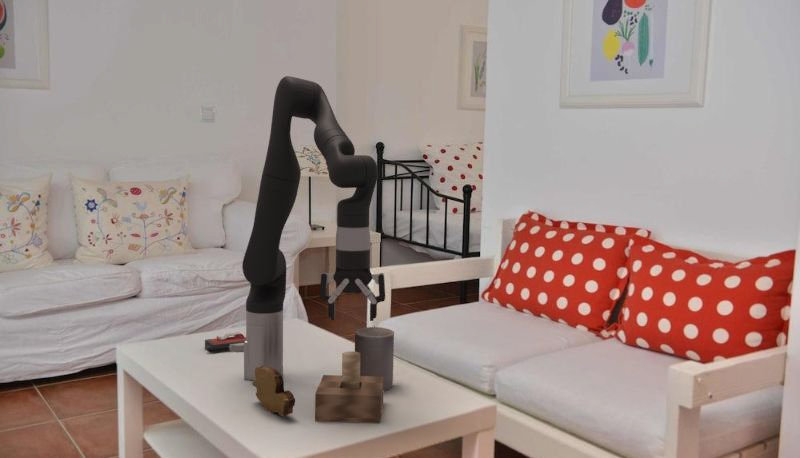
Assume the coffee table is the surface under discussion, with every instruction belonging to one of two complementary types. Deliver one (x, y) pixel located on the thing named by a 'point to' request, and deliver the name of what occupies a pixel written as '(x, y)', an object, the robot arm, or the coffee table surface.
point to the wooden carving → (273, 391)
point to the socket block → (349, 400)
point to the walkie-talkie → (226, 343)
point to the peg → (351, 369)
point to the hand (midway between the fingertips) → (352, 319)
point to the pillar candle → (376, 353)
